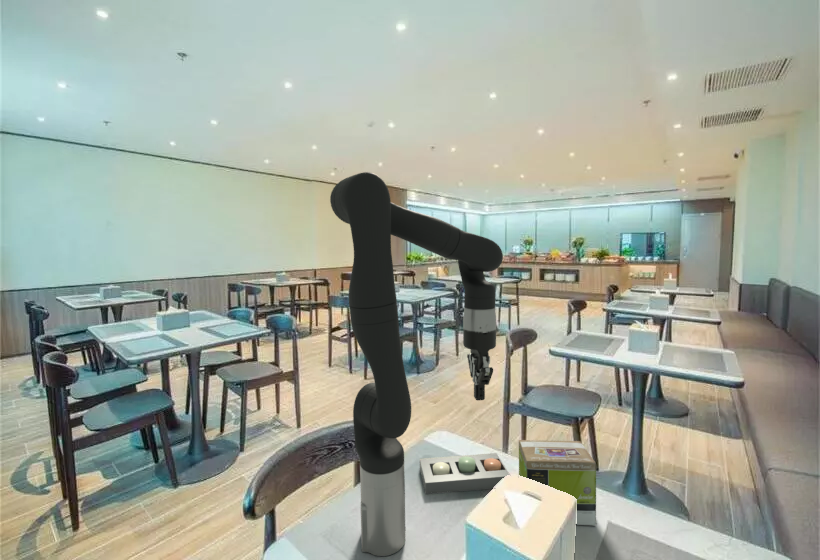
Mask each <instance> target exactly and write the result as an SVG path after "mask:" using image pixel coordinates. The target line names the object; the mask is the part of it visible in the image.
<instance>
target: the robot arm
mask: <svg viewBox="0 0 820 560" xmlns="http://www.w3.org/2000/svg"><path fill="white" fill-rule="evenodd" d="M329 201H330V207H331V209H332V211H333V213H334V214H335V216H336V217H337V218H338V219H339V220H340V221H342V222H343V223H345V224H347V225H349V227H350V233H351V240H352V246H353V262H352V263H353V264H352V269H351V275H350V279H349V280H350V281H349V285H348V286H349V287H348V306H349V315H350V323H351V328H352V333H353V335H354V336H355V340H356V342H357V343H358V346H359V348H360V349H361V351H362V354H363V355H364V358H365V359H366V360H367V363H368V365H369V367H370V369H371V372H372V375H373V380H374V382H369V383H367V384H365V385H363V386H362V387H361V388H360V389H359V391H358V392H357V394H356V397H355V399H354V402H353V403H354V404H353V409H352V410H353V412H352V421H353V432H354V445H355V450H356V452H357V455H358V457H359V475H360V476H359V477H360V481H359V482H360V532H361V535H360V536H361V537H360V538H361V552H362V553H369V554H371V555H374V556H376V557H377V556H378V557H385V556H387V557H388V556H390V555H393V554H395V553H398V551H400V550H401V549H402V548H403V547H404V545H405V544H406V543H405V542H406V531H407V530H406V529H407V528H406V489H405V488H406V484H405V482H406V481H405V480H406V479H405V476H406V475H405V450H404V447H403V445H402V443H401V442H400V441H399V440H398V438H400V437H401V436H403V435H404V434H405V432H406V431H407V430H408V428H409V425H410V422H411V419H412V401H411V394H410V390H409V384H408V380H407V375H406V371H405V364H404V358H403V351H402V350H403V349H402V344H401V343H402V342H401V336H400V325H399V323H400V322H399V321H400V320H399V313H398V311H399V310H398V309H399V308H398V300H397V299H398V298H397V292H396V287H395V286H396V284H395V273H394V265H393V264H394V263H393V257H392V255H393V254H392V238H391V237H392V236H393V237H397V238H399V239H401V240H404V241H406V242H408V243H410V244H413V245H415V246H417V247H420V248H421V249H422V248H423V249H424V250H426V251H428V252H431V253H433V254H435V255H437V256H440V257H443V258H445V259H447V260H452V261H457V265H458V269H459V270H458V271H459V274H460V278H461V282H462V285H463V289H464V290H463V291H464V294H463V295H464V297H463V298H464V299H463V300H464V301H463V303H464V305H463V307H464V310H463V318H462V319H463V320H462V321H463V322H462V323H463V324H462V325H463V326H462V327H463V330H462V333H463V334H462V335H463V336H462V337H463V338H462V339H463V340H462V344H463V346H464V348H466V349H469V350H470V353H467V363H468V368H469V372H470V373H469V375H470V378H472V383H473V398H474V399H475V401H484V400H485V398H486V396H485V395H486V389H485V387H486V386H488V385H489V384H490V382H491V379H492V375H493V373H494V367H493V366H491V367H490V364H491V357H490V354H489V351H490V350H493V349H495V348H496V346H497V315H496V313H497V312H496V308H495V307H496V287H495V285H494V284H493V283H491V282H490V281H488V280H486V278H485V274H484V272H485V273H490V272H493V271H496V270H497V269H498V268H499V267H500V266H501V265H502V263H503V259H504V254H503V251H502V249H501V247H500V246H499V244H498V243H496V242H495V241H493V240H492V239H490V238H488V237H484V236H481V235H478V234H476V233H471V232H467V231H465V230H461V229H460V228H459V227H456V225H455V226H454V225H453V224H451V223H449V222H446V221H445V220H443V219H440V218H437V217H435V216H433V215H428V214H426V213H422V212H419V211H414V210H411V209H408V208H405V207H403V206H400V205H397V204H396V203H393V202H391V195H390V191H389V188H388V186H387V183H386V182H385V181H384V180H383V178H381V177H380V176H379V175H378V174H377V173H373V172H370V171H367V172H366V171H364V172H363V171H362V172H359V173H356V174H353V175H351V176H348V177H346V178H344V179H341V180H340V181H339V182H338V183H337V184H335V186H334V187H333V188H332V191H331V192H330V199H329Z"/></svg>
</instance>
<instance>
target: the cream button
mask: <svg viewBox="0 0 820 560" xmlns="http://www.w3.org/2000/svg"><path fill="white" fill-rule="evenodd" d="M446 474H450V472H449V465H448V464H447V463H444V462H438V463H435V464H434V465H433V475H446Z"/></svg>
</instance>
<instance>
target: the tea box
mask: <svg viewBox="0 0 820 560" xmlns="http://www.w3.org/2000/svg"><path fill="white" fill-rule="evenodd" d="M519 475H520V476H523V477H526V478H529V479H532V480H535V481H537V482H540V483H542V484H545V485H548V486H550V487H553V488H555V489H557V490H560V491H563V492H566V493H568V494H570V495H572V496H574V497H575V498H576V499H577V525H580V526H596V525H597V463H596V461H595V460H594V459H593V457H592V456H591V454H590V453H589V452H588V450H587V449H586V447H585V446H584V445H583V443H582V441H581V440H548V439H547V440H543V439H542V440H541V439H539V440H538V439H537V440H536V439H533V440H532V439H531V440H530V439H529V440H526V439H519V440H518V476H519ZM577 525H576V526H577Z"/></svg>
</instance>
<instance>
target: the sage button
mask: <svg viewBox="0 0 820 560" xmlns="http://www.w3.org/2000/svg"><path fill="white" fill-rule="evenodd" d="M471 472H475V460H474V459H473V458H471V457H467V456H465V457H461V458H460V459H459V473H471Z"/></svg>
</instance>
